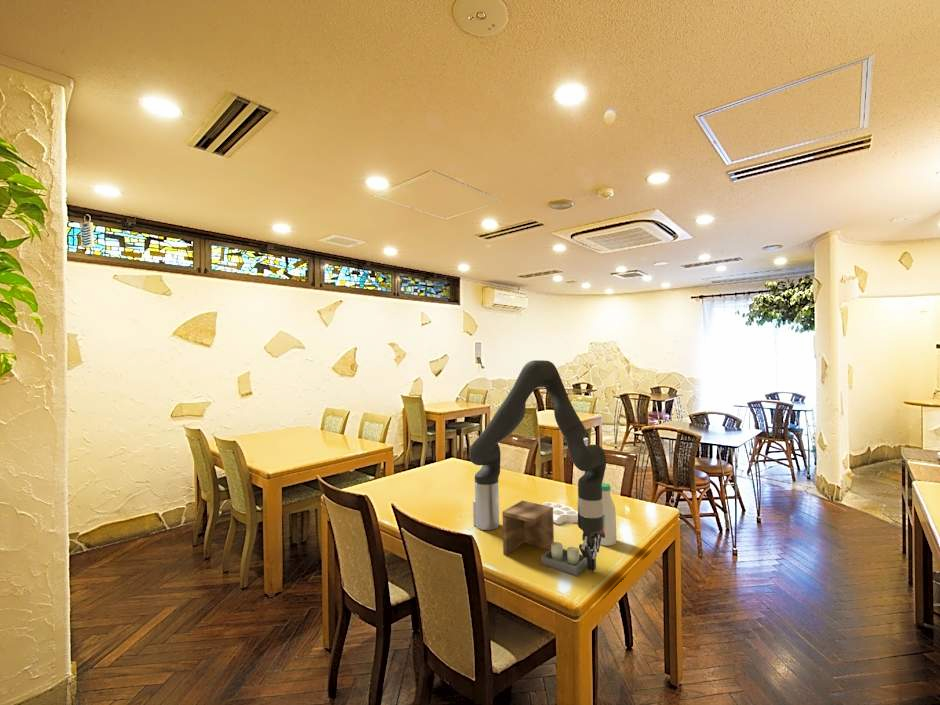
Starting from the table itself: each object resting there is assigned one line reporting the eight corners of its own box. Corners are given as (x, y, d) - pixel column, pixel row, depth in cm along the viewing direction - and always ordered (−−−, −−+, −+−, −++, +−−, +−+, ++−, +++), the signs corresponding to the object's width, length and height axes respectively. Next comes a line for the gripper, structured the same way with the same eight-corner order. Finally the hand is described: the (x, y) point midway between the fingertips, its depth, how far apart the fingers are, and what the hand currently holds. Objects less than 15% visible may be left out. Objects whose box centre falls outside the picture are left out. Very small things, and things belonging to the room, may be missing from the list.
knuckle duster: (529, 515, 174) (553, 507, 183) (562, 528, 160) (587, 519, 168) (529, 507, 174) (553, 499, 183) (562, 520, 160) (586, 511, 168)
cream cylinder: (549, 560, 133) (548, 545, 133) (554, 556, 136) (554, 541, 136) (559, 564, 131) (558, 548, 131) (564, 560, 133) (564, 544, 134)
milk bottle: (611, 536, 151) (610, 481, 151) (620, 546, 143) (618, 487, 144) (590, 537, 151) (589, 481, 151) (597, 546, 143) (596, 488, 143)
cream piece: (565, 566, 130) (565, 549, 130) (570, 561, 132) (570, 545, 132) (575, 569, 127) (575, 553, 127) (581, 565, 130) (581, 549, 130)
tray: (541, 565, 132) (540, 556, 132) (555, 554, 139) (554, 546, 139) (576, 577, 124) (576, 568, 124) (589, 565, 131) (589, 556, 131)
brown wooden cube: (503, 554, 139) (502, 511, 139) (523, 540, 149) (522, 500, 149) (535, 564, 132) (534, 519, 132) (553, 549, 142) (552, 507, 142)
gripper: (586, 503, 134) (587, 557, 134) (569, 516, 124) (570, 575, 123) (610, 508, 130) (611, 564, 129) (594, 521, 119) (595, 583, 119)
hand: (591, 569), depth 126 cm, fingers closed
